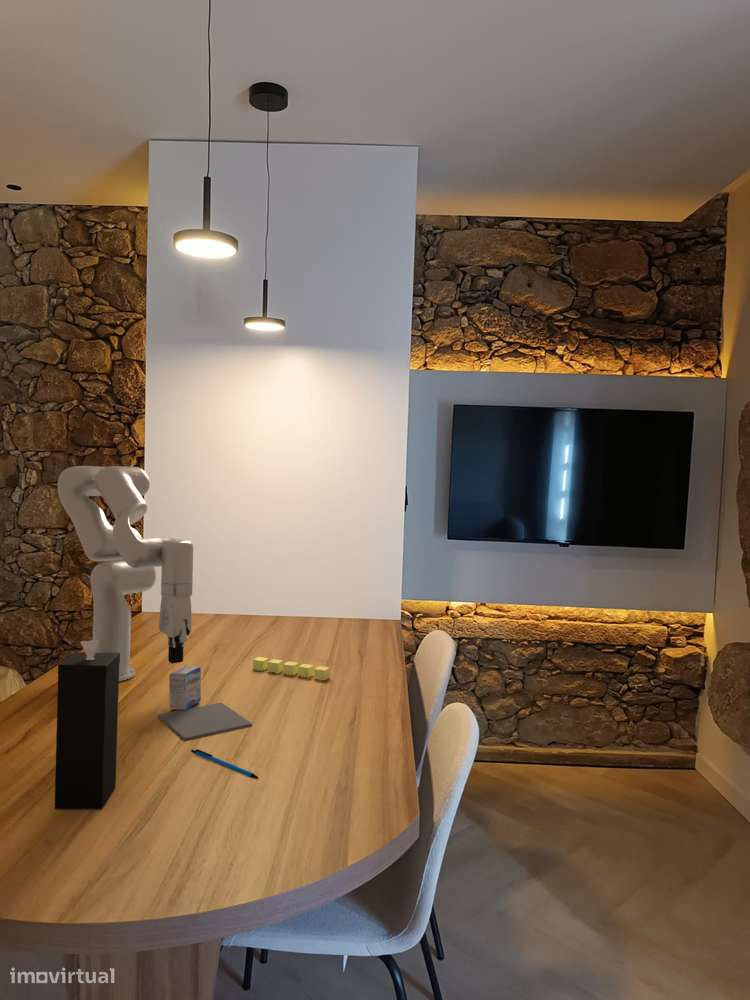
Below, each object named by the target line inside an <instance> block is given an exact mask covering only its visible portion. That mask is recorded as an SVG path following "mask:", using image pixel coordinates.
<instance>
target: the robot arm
mask: <svg viewBox="0 0 750 1000" xmlns="http://www.w3.org/2000/svg"><path fill="white" fill-rule="evenodd" d="M150 485H151V484H150V478H149V476H148V474H147V472H146V471H145V470H143V469H142V468H140V467H138V466H126V465H125V466H123V465H122V466H120V465H111V466H97V465H94V466H93V465H77V466H70V467H67V468H65V469H64V470H63V471H62V472H61V473H60V475H59V476H58V480H57V494H58V499H59V502H60V503H61V505H62V507H63V508H64V510H65V512H66V513H67V515H68V516H69V518H70V520H71V521H72V524H73V527H74V529H75V531H76V534H77V537H78V540H79V541H80V544H81V546H82V549H83V551H84V553H85V555H86V557H87V558H88V559H89V560H90V561H93V562H100V563H99V564H97V565H95V567H94V568H93V569H92V570H91V573H90V576H89V577H90V586H91V592H92V601H93V604H92V605H93V620H92V621H93V625H92V629H93V630H92V640H99V643H98V647H97V650H96V653H120V662H119V682H123V680H124V681H127V679H128V680H131V679H132V678H134V677H135V676H136V670H135V669H134V668H133V667H132V666H130V661H131V659H130V657H131V655H130V654H131V631H132V630H131V626H132V610H131V607H130V605H129V602H127V600H126V598H125V596H126V595H130V594H137V593H142V592H147V591H149V590H150V589H152V588H153V587H154V585H155V584H156V580H157V579H156V578H157V574H156V573H157V572H156V569H155V568H156V567H157V568H158V567H161V575H160V576H161V580H160V581H161V584H160V596H161V598H160V599H161V601H160V609H159V622H158V623H159V624H158V625H159V626H158V629H159V632H160V633H162V634H164V635H166V636H167V643H168V644H167V645H168V653H167V655H168V659H167V660H168V662H169V663H170V664H179V663H183V661H184V647H185V643H186V642H187V641H188V638H187V637H188V636H190V635H191V633H192V626H193V625H192V622H193V621H192V619H193V617H192V615H193V614H192V602H191V601H192V600H191V596H193V586H194V585H193V583H194V582H193V581H194V580H193V579H194V578H193V577H194V574H193V572H194V571H193V570H194V545H193V542H192V541H191V540H188V539H176V538H174V537H172V536H156V537H152V536H151V537H142V536H141V534H140V532H138V530H136V529H135V528H134V527H132V525H133V524H135V523H136V522H138V521H140V520H141V519H142V518H143V517H144V516H145V515H146V513H147V511H148V505H147V503H146V501H145V499H144V498H143V496H145V495H146V494H147V493H148V492H149V489H150ZM90 497H102V498H103V500H104V502H105V503H106V505H107V506H108V508H109V510H110V511H111V513H112V515H114V518H115V520H114V524H113V525H112V524H110V522H109V521H108V518H107V517H106V514H105V512H104V510H103V509H102V508H101V507H100V505H98V504H97V503H96V502H95V501H93V500H92V499H91V498H90Z"/></svg>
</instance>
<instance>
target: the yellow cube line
mask: <svg viewBox="0 0 750 1000" xmlns="http://www.w3.org/2000/svg"><path fill="white" fill-rule="evenodd" d="M252 661H253V662H252V669H255V670H254V671H259V670H262V671H261V672H264V671H266V670H267V672H268V671H269V672H268V673H272V672H275V673H274V674H280V673H281V672H282V675H284V674H286V675H285V676H291V675H294V676H295V675H297V677H298V676H301V677H300V678H303V677H307V678H306V679H309V678H311V677H313V679H314V678H315V679H314V680H316V679H320V680H319V681H322V680H325V681H326V679H327V680H329V678H330V673H331V672H330V669H331V668H330V667H329V666H321V665H319V666H317V667H316V668H315V667H314V665H313V664H308V663H302V664H300V665H299V662H296V661H294V662H293V661H287V662H285V663H284V660H280V659H274V658H273V659H271V660H269V658H268V657H262V656H258V657H256V658H254V659H253V660H252ZM267 668H268V669H267ZM265 669H266V670H265ZM263 670H264V671H263ZM313 675H314V676H313ZM310 676H311V677H310ZM308 677H309V678H308Z"/></svg>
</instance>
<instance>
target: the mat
mask: <svg viewBox="0 0 750 1000" xmlns="http://www.w3.org/2000/svg"><path fill="white" fill-rule="evenodd" d="M157 718H158V719H160V721H161V722H163V723H164V724H165V725H166V726H168V727H169V729H171V730H172V731H173V732H175V733H176V734H177V735H178V736H179V737H180V738H181V739H182V740H184V741H188V740H192V739H197V738H202V737H206V736H210V735H215V734H219V733H224V732H229V731H233V730H238V729H243V728H247V727H251V726H253V722H250V721H249V720H248V719H247V718H245V717H243V716H242V715H241V714H239V713H238V712H236V711H235V710H233V709H232V708H230V707H229V706H227V705H226V704H224V703H223V702H217V703H212V704H211V703H210V704H206V705H201V706H195V707H190V708H189V709H187V710H174V711H170V712H163V713H160V714H159V713H158V714H157Z"/></svg>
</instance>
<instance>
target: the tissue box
mask: <svg viewBox="0 0 750 1000" xmlns="http://www.w3.org/2000/svg"><path fill="white" fill-rule="evenodd" d="M98 643H99V640H93V639H92V640H88V641H87V640H82V641H80V645H81V646H82V648H83V650H84V651H74V652H73V653H72V654H71V655H69V656H68V657H67V658H65V659H64V660H63V661H61V662H60V663H59V664H57V701H56V702H57V704H56V705H57V706H56V709H57V710H56V711H57V712H56V742H55V745H56V746H55V750H56V751H55V774H54V775H55V776H54V778H55V781H54V783H55V784H54V810H102V809H103V808H104V807H105V805H106V804H107V802H108V801H109V799H110V797H111V796H112V794H113V792H114V791H115V789H116V787H117V786H116V783H117V782H116V781H117V780H116V779H117V752H118V751H117V750H118V749H117V748H118V721H119V719H118V718H119V716H118V715H119V713H118V712H119V686H120V683H119V682H120V681H119V662H120V653H96V650H97V647H98Z"/></svg>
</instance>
